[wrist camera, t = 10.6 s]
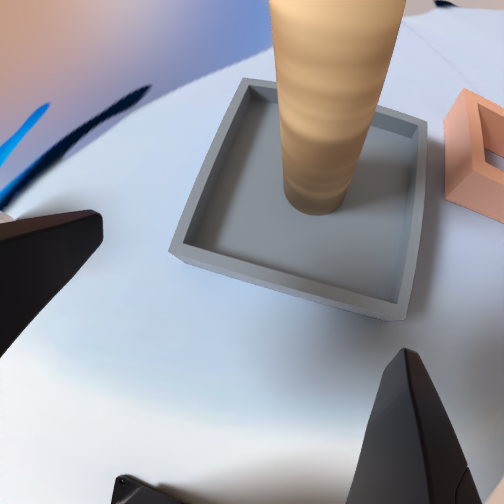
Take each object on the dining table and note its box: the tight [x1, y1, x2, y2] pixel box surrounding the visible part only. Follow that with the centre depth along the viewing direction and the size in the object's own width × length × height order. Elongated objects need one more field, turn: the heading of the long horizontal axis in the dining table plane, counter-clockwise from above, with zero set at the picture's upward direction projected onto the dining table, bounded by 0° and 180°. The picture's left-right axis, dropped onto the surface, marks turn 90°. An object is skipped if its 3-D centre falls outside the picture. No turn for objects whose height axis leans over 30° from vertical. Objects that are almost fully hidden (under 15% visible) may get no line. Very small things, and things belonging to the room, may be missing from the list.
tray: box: [168, 78, 427, 322], centre depth 16 cm, size 12×12×3 cm
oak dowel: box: [269, 0, 406, 216], centre depth 10 cm, size 4×4×14 cm
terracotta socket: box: [444, 88, 504, 224], centre depth 15 cm, size 7×7×4 cm
